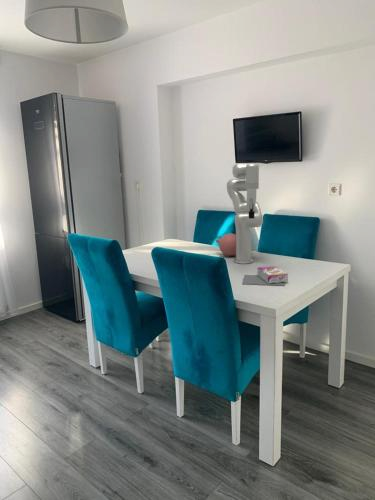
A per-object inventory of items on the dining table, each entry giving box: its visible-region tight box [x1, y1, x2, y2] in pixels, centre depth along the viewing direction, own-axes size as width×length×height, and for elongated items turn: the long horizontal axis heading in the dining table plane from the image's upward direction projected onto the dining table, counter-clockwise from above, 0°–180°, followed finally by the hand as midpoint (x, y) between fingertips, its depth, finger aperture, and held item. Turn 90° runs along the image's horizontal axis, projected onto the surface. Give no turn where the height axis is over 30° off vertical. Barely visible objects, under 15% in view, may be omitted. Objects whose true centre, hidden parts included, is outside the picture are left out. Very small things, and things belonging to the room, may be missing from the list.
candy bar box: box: [256, 265, 289, 284], centre depth 220 cm, size 11×5×16 cm
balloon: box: [215, 233, 236, 257], centre depth 276 cm, size 15×20×15 cm
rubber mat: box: [241, 274, 286, 287], centre depth 219 cm, size 17×22×1 cm
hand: (251, 218), depth 233 cm, fingers closed
